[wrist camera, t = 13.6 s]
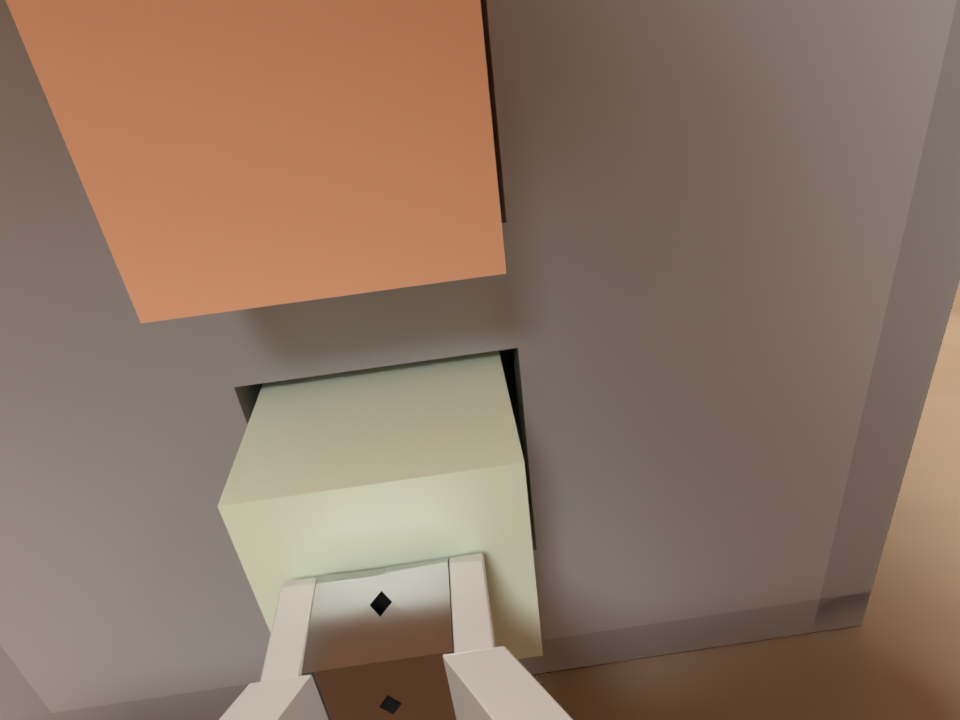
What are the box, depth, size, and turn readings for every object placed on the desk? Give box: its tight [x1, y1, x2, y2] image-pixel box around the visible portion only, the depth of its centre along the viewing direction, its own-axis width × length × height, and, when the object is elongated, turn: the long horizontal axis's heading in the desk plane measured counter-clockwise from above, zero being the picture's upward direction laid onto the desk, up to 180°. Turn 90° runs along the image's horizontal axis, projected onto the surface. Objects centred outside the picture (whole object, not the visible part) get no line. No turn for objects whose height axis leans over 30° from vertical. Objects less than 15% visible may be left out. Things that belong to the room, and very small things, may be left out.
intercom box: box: [0, 0, 960, 720], centre depth 15 cm, size 10×20×20 cm, turn 95°
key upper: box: [6, 0, 507, 323], centre depth 9 cm, size 5×4×4 cm
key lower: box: [217, 351, 543, 659], centre depth 12 cm, size 5×4×4 cm
